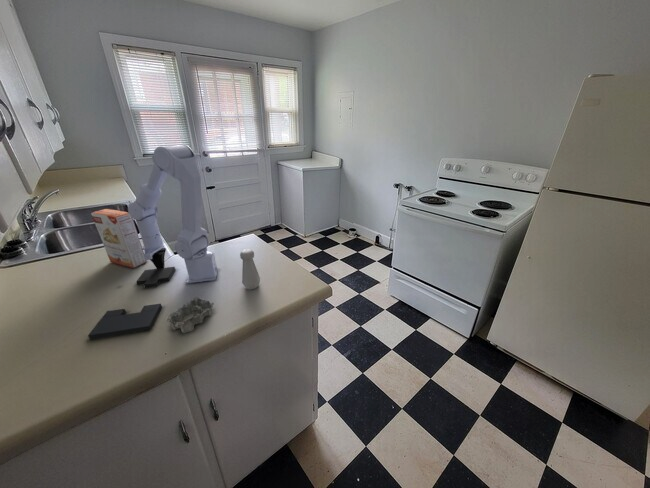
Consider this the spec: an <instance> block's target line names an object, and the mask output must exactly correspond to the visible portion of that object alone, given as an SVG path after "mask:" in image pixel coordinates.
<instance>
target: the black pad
mask: <svg viewBox="0 0 650 488" xmlns="http://www.w3.org/2000/svg"><path fill="white" fill-rule="evenodd" d="M175 272H176V267H175V266H167V267H164V268H159V269H157V268H152V269H151V268H150V269H144V271H143V272H142V273H141V274H140V276H139V277H138V278H137V280H136V285H137V286H142V285H143V288H144V289H150V288H151V289H152V288H157V287H158V286H159V284H160V283H167V282H170V281H171V279H172V277H173V275H174V274H175Z"/></svg>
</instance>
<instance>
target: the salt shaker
mask: <svg viewBox="0 0 650 488" xmlns="http://www.w3.org/2000/svg"><path fill="white" fill-rule="evenodd" d="M239 258H240V259H241V260H242V270H241V271H242V274H241V283H242V285H243V287H245V289H247V290H250V291H251V290H255V289H257V288H258V287H259V285H260V282H261V276H260V274H259V271H258V269H257V266H256V264H255V260H254V258H255V251H253V250H252V249H249V248H247V249H243V250H241V251H240V253H239Z"/></svg>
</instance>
